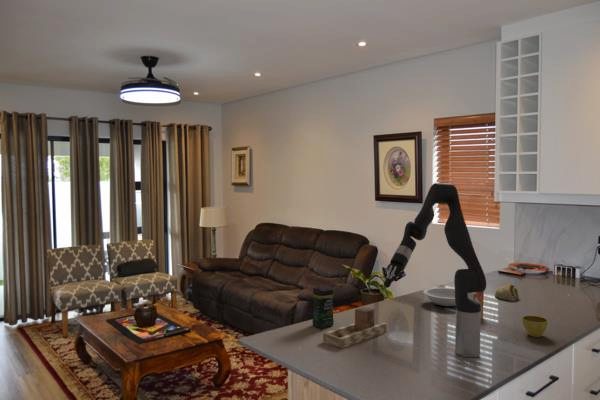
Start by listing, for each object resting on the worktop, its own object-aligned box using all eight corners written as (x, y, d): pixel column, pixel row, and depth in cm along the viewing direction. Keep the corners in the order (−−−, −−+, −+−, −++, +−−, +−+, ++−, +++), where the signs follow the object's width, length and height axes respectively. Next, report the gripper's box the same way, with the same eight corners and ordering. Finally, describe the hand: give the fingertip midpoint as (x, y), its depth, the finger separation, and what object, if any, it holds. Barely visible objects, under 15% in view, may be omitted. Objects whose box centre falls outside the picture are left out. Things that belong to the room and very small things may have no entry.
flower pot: (516, 332, 208) (516, 316, 208) (533, 330, 212) (534, 314, 212) (535, 340, 199) (535, 323, 199) (552, 337, 203) (553, 320, 202)
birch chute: (368, 326, 218) (368, 318, 218) (386, 331, 210) (386, 323, 210) (323, 342, 197) (323, 333, 197) (341, 348, 190) (341, 339, 190)
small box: (473, 320, 227) (473, 293, 227) (462, 316, 233) (462, 290, 232) (483, 317, 232) (484, 291, 231) (472, 314, 237) (472, 288, 236)
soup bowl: (479, 308, 248) (479, 295, 247) (442, 313, 239) (442, 300, 238) (449, 297, 270) (449, 285, 270) (414, 301, 261) (414, 289, 261)
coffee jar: (320, 329, 214) (320, 289, 213) (309, 325, 220) (309, 285, 219) (336, 325, 219) (336, 286, 218) (326, 321, 226) (326, 283, 225)
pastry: (522, 302, 260) (522, 287, 260) (498, 301, 262) (498, 286, 261) (514, 295, 274) (514, 282, 273) (492, 294, 276) (492, 281, 275)
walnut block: (363, 327, 212) (363, 306, 212) (374, 331, 208) (374, 309, 207) (354, 330, 208) (354, 309, 208) (365, 334, 204) (365, 312, 203)
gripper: (386, 250, 228) (370, 279, 220) (410, 254, 218) (394, 284, 211) (393, 260, 232) (377, 288, 224) (416, 263, 222) (401, 294, 215)
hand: (385, 286), depth 218 cm, fingers closed
